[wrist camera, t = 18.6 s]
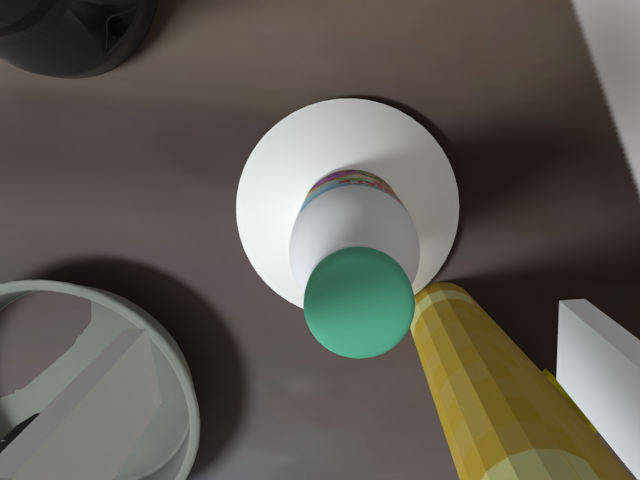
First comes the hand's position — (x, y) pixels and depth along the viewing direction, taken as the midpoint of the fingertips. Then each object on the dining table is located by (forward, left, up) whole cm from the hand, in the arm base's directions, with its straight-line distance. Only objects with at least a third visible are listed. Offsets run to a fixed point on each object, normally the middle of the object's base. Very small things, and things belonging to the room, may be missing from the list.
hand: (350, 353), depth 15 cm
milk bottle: (0, 0, -24) cm, 24 cm away
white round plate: (0, 0, -25) cm, 25 cm away
